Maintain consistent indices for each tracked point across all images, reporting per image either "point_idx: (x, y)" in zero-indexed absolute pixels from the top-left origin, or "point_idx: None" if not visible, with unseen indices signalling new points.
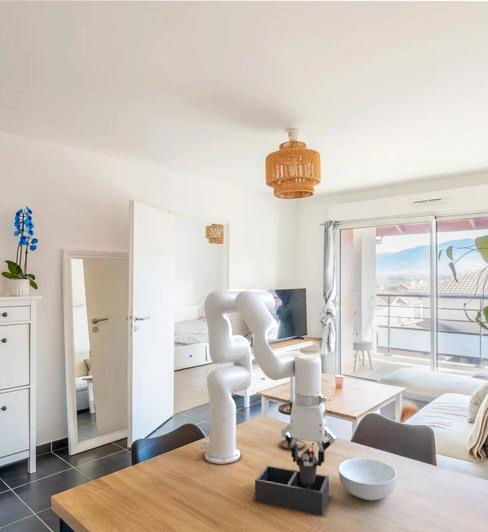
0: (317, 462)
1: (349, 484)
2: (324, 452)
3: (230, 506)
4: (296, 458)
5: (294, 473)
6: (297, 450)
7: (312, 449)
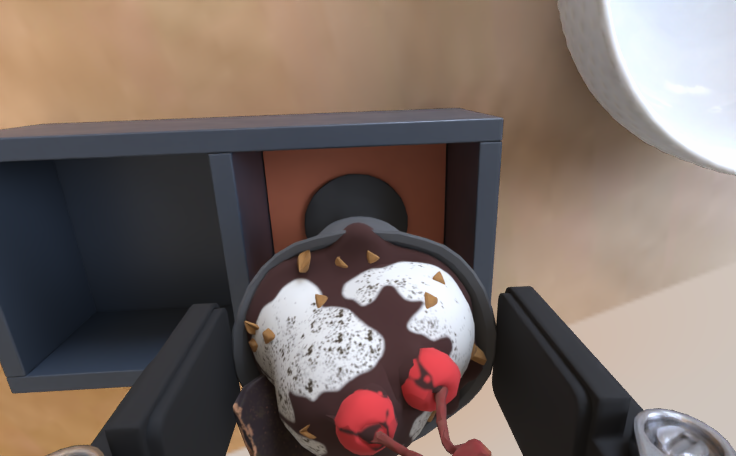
0: (481, 358)
1: (657, 146)
2: (631, 409)
3: (20, 393)
4: (230, 380)
5: (220, 192)
6: (196, 397)
7: (441, 425)
